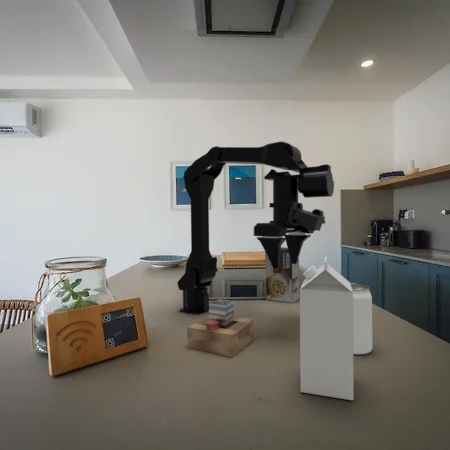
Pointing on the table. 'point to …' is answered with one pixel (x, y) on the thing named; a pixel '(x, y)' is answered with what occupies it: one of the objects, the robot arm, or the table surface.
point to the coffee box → (282, 279)
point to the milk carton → (326, 333)
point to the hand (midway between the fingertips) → (285, 266)
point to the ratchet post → (222, 313)
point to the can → (362, 319)
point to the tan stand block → (220, 336)
